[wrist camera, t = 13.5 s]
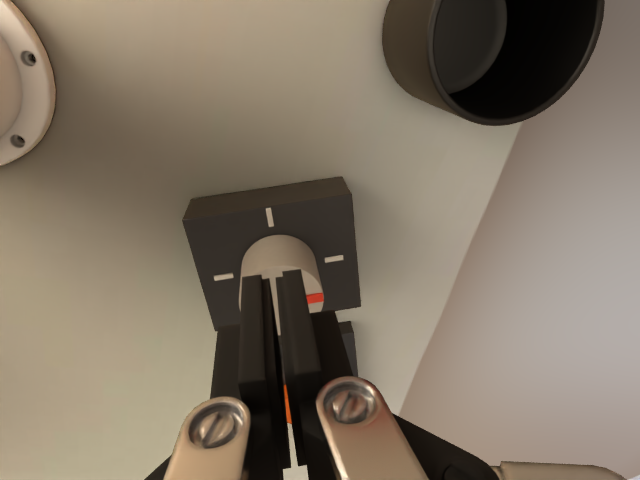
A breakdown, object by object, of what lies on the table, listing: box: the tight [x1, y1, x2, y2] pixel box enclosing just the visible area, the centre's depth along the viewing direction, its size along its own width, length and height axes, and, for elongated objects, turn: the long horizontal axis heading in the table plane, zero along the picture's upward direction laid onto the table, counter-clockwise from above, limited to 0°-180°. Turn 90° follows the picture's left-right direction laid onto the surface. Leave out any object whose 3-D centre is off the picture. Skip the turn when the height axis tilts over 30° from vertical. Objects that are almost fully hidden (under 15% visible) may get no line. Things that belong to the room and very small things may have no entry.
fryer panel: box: [182, 177, 361, 331], centre depth 33 cm, size 12×10×4 cm
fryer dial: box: [239, 235, 324, 335], centre depth 29 cm, size 6×6×5 cm
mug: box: [383, 0, 604, 126], centre depth 25 cm, size 9×12×9 cm
